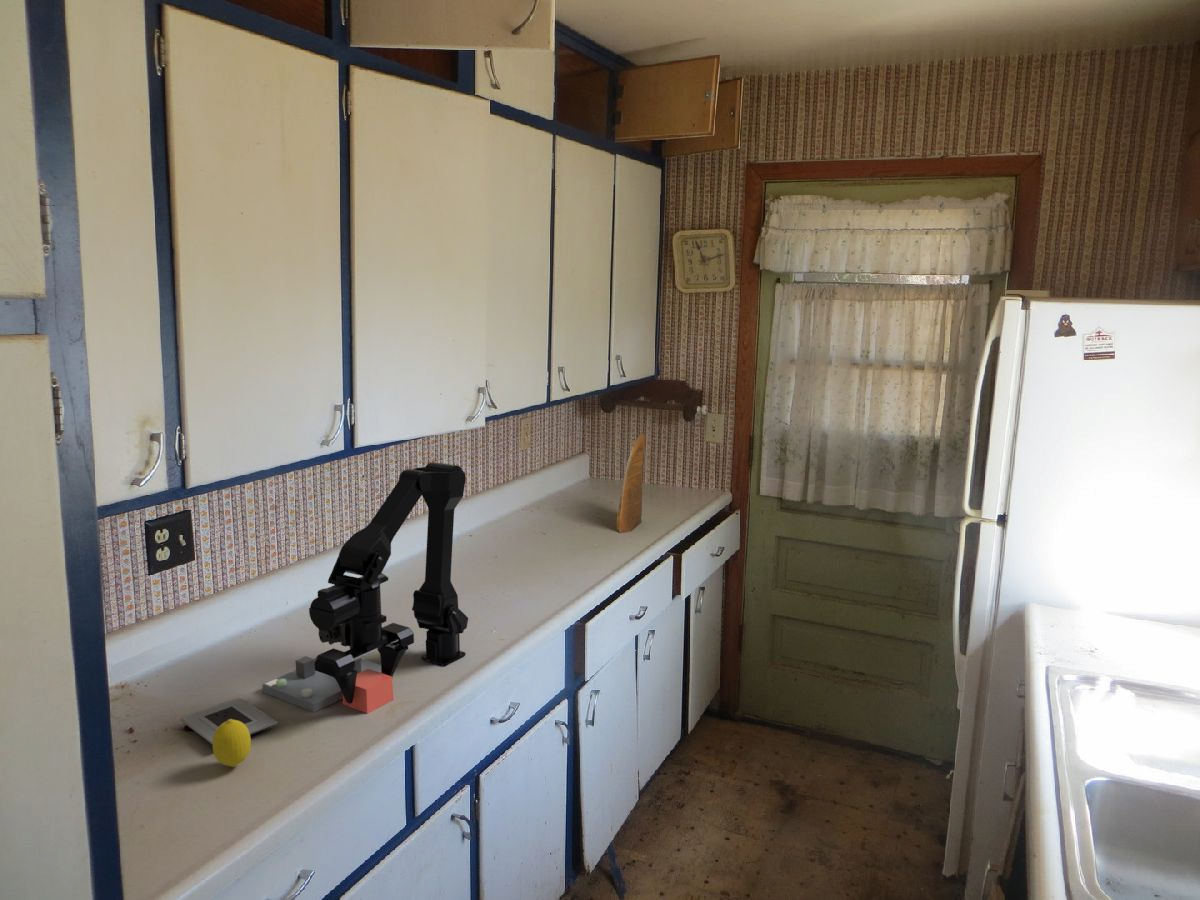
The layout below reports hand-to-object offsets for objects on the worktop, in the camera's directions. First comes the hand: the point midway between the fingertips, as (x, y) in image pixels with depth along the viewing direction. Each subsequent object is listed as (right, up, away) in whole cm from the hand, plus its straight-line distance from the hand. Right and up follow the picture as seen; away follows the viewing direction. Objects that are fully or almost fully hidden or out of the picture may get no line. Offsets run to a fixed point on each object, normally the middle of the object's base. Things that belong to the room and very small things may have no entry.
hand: (368, 693), depth 164 cm
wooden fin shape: (+51, +20, +115) cm, 128 cm away
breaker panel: (-10, 0, +8) cm, 12 cm away
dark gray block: (-14, +2, +7) cm, 16 cm away
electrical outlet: (-21, -4, -10) cm, 23 cm away
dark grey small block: (-5, +2, +8) cm, 9 cm away
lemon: (-16, -6, -21) cm, 27 cm away
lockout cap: (0, -2, 0) cm, 2 cm away
